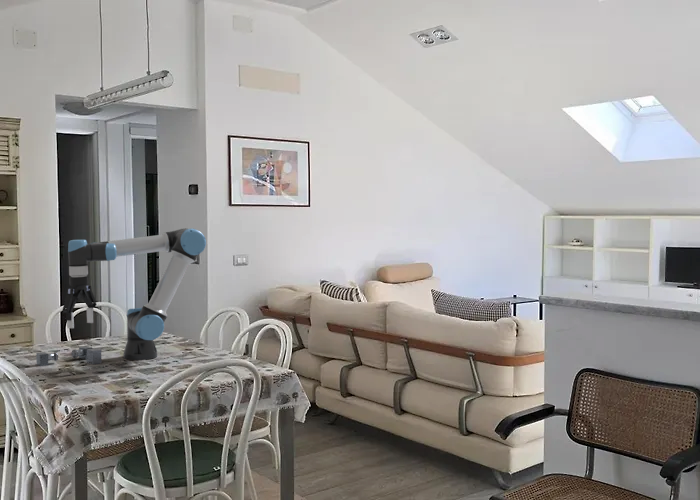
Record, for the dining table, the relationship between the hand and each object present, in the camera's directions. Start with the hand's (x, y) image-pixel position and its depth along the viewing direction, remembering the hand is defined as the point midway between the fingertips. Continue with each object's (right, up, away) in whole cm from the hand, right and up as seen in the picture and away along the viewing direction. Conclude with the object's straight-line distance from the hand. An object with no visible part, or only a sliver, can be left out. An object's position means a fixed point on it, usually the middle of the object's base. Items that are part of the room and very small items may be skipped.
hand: (80, 325), depth 308 cm
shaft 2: (-7, -17, +20) cm, 27 cm away
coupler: (+2, -18, +12) cm, 21 cm away
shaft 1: (-17, -18, +9) cm, 26 cm away
